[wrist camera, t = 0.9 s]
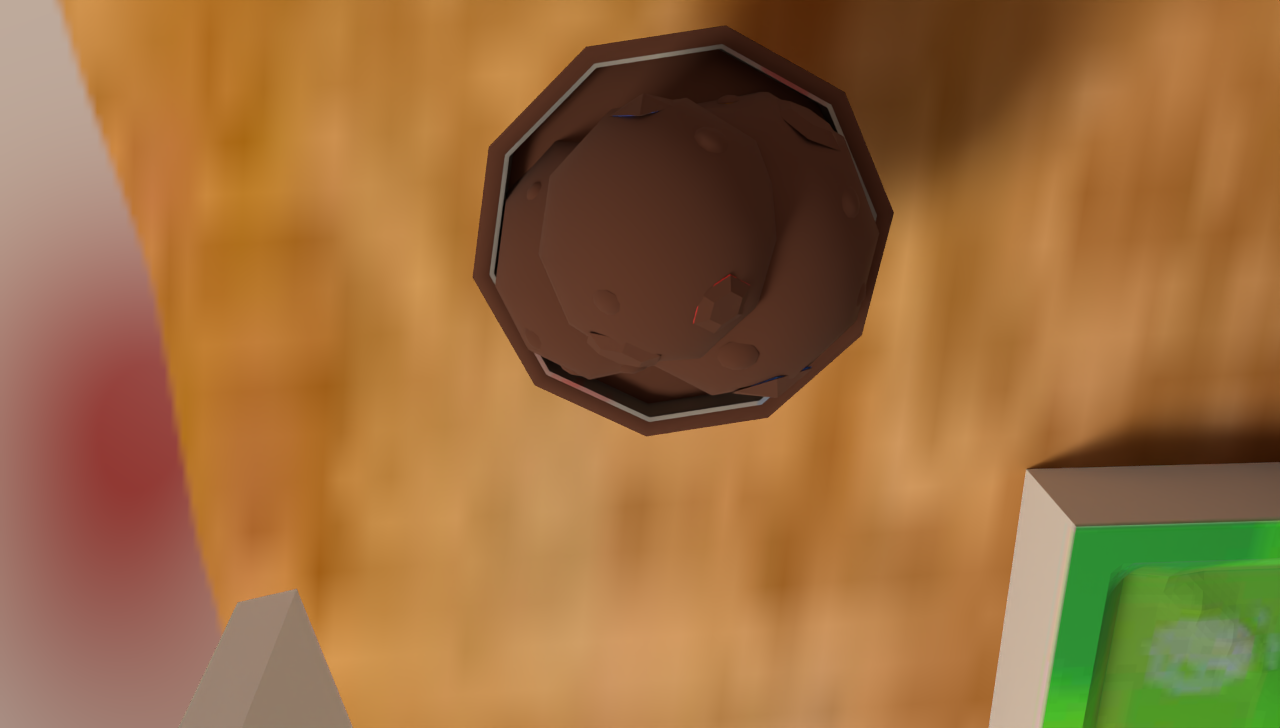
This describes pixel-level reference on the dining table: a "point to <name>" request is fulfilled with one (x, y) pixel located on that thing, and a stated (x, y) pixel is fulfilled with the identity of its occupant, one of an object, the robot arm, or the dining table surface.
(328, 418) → the dining table surface
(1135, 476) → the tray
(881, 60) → the dining table surface
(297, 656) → the robot arm
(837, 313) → the ice cream bowl
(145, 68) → the dining table surface
